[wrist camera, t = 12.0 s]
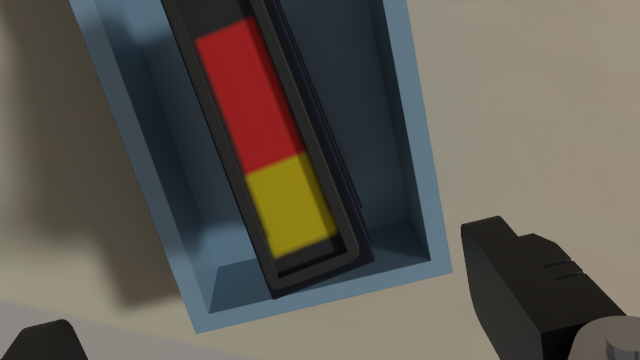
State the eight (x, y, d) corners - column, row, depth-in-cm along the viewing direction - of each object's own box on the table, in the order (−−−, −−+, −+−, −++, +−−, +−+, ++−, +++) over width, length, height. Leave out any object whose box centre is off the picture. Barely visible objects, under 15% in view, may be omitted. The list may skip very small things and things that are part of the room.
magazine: (316, 262, 33) (265, 306, 18) (236, 55, 34) (127, -64, 19) (376, 239, 33) (375, 265, 18) (294, 31, 34) (229, -109, 19)
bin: (82, -80, 28) (34, -90, 23) (356, -150, 28) (375, -178, 22) (209, 276, 36) (196, 333, 30) (425, 223, 36) (452, 272, 30)
